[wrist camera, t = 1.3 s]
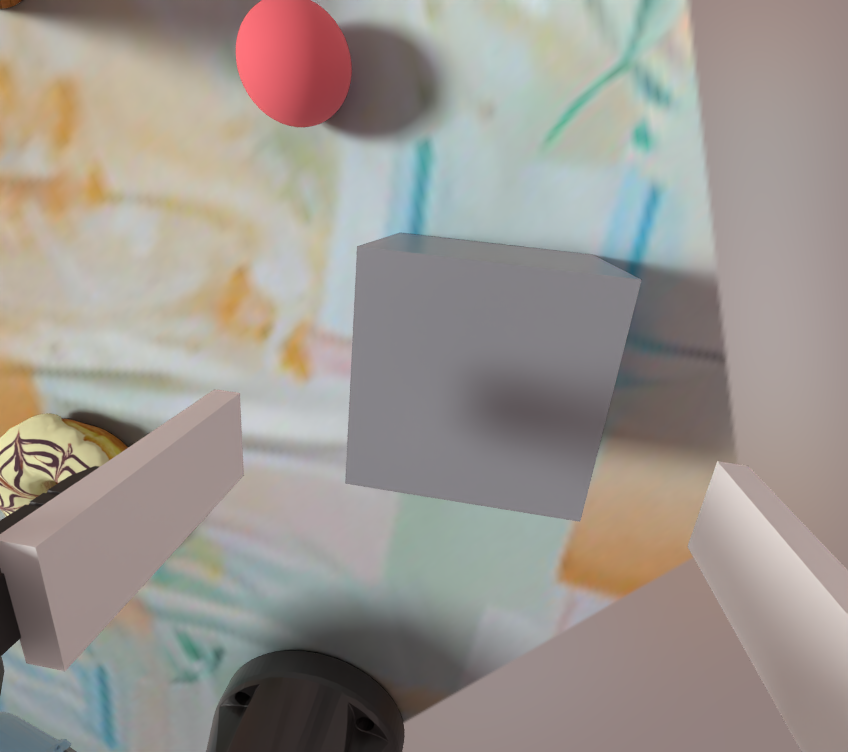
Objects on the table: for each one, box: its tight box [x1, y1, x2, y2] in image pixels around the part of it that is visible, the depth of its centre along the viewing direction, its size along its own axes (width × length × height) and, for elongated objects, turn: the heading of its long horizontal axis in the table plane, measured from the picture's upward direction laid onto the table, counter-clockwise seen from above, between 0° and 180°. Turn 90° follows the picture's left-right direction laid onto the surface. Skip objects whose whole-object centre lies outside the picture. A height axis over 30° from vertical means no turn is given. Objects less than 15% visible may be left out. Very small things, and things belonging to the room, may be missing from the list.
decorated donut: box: [0, 414, 128, 517], centre depth 33 cm, size 10×11×4 cm
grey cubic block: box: [345, 233, 642, 521], centre depth 23 cm, size 10×10×9 cm
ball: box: [236, 0, 352, 127], centre depth 22 cm, size 5×5×5 cm
